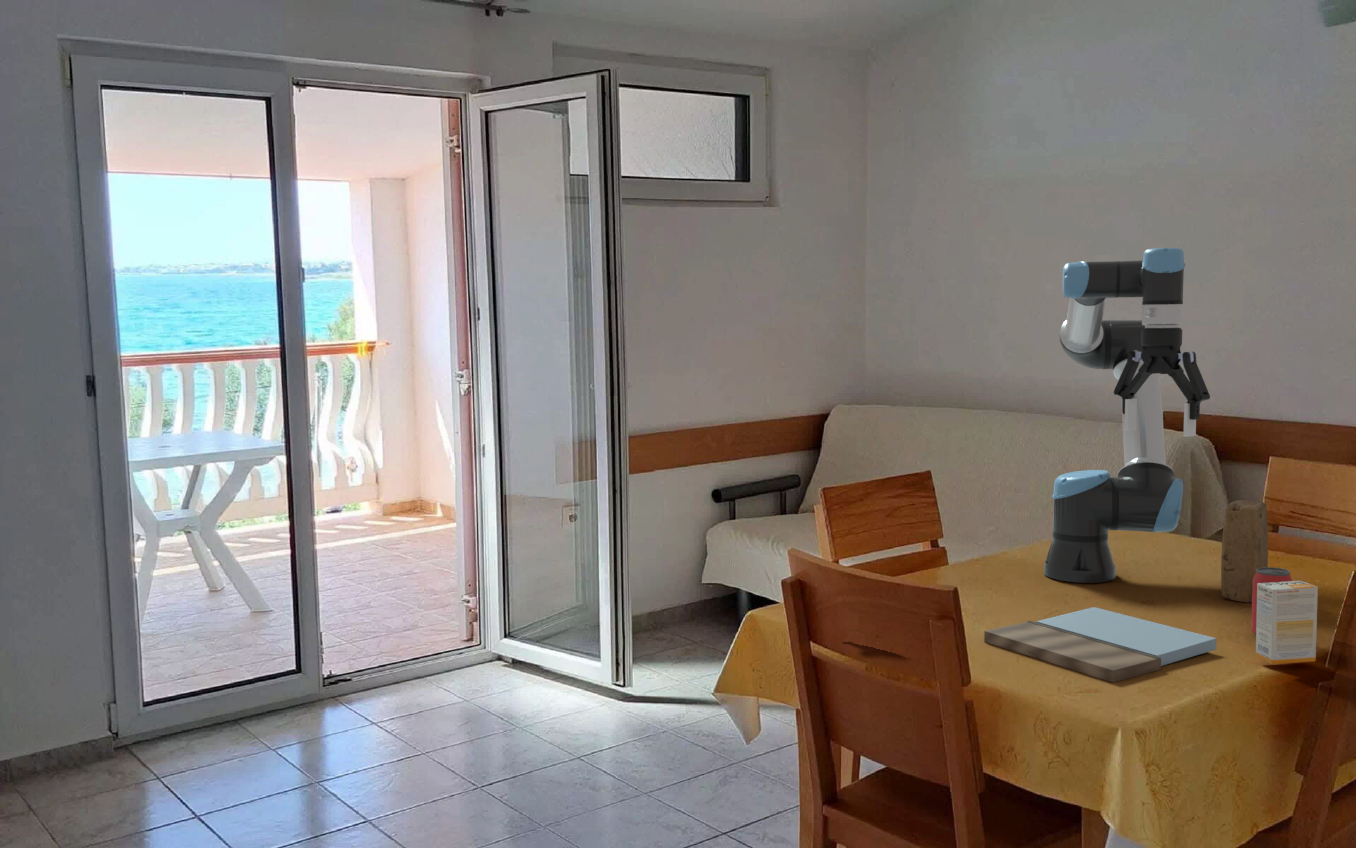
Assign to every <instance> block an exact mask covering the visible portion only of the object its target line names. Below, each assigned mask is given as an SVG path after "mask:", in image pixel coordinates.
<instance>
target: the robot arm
mask: <svg viewBox="0 0 1356 848" xmlns="http://www.w3.org/2000/svg"><path fill="white" fill-rule="evenodd" d="M1185 267H1186V264H1185V253H1184V249H1182V248H1180V247H1158V248H1157V247H1153V248H1148V249H1145V251H1144V252H1143V258H1142V260H1141V259H1140V260H1116V261H1105V260H1104V261H1085V260H1082V261H1076V262H1068V263H1065V264H1064V266H1063V269H1062V279H1061V280H1062V286H1061V287H1062V296H1063V297H1064V298H1066V299H1069V301H1068V308H1067V316H1066V319H1065V321H1063V323H1062V325H1061V328H1060V330H1059V342H1060V345H1061V347H1062V349H1063V351H1064V352H1065V354H1066V355H1067V356H1068V357H1069V358H1070V359H1072V360H1073V361H1074V362H1075V363H1077V364H1080V365H1082V366H1083V367H1087V368H1089V369H1095V370H1112V374H1113V377H1114V378H1115V379H1116V380H1117V383H1116V385H1115V387H1114V390H1113V394H1114V395H1115V396H1118V397H1121V400H1120V401H1121V415H1122V416H1121V418H1122V419H1121V420H1122V437H1123V439H1122V440H1123V442H1122V443H1123V457H1124V465H1123V466H1122V467H1121V468H1120V469H1119V470H1118V471H1117V477H1111V474H1110V472H1109V471H1108V470H1103V469H1089V470H1088V469H1087V470H1079V471H1078V470H1077V471H1071V472H1067V473H1063V474H1060V475H1058V476H1057V477H1056V478H1055V479H1054V483H1053V494H1052V495H1051V497H1052V500H1053V509H1052V511H1053V513H1052V516H1053V517H1052V542H1051V544H1050V546H1049V550H1048V552H1047V555H1046V560H1045V561H1044V563H1043V574H1044V576H1046V577H1048V578H1051V579H1052V580H1053V579H1054V580H1057V581H1064V582H1068V583H1083V584H1085V583H1086V584H1093V583H1095V584H1096V583H1104V582H1111V581H1113V580H1115V579H1116V575H1117V572H1116V571H1117V569H1116V565H1115V564H1114V560H1113V556H1112V552H1111V549H1110V546H1109V531H1122V532H1123V531H1124V532H1151V533H1153V534H1154V533H1157V532H1161V533H1162V532H1166V533H1167V532H1173V531H1174V530H1175V529H1176V528H1177V527H1178V524H1179V519H1180V515H1181V510H1182V504H1183V495H1184V494H1183V492H1184V484H1183V483H1184V481H1183V479H1181V478H1179V477H1175V472H1174V469H1173V468H1172V467H1171V466H1170V465H1168V464H1167V461H1166V449H1165V447H1166V446H1165V433H1164V419H1163V418H1164V416H1163V403H1162V400H1163V399H1162V390H1161V389H1162V388H1161V379H1163V378H1164V377H1165V375H1168V376H1169V377H1170V378H1171V379H1172V380H1173V381H1174V383H1175V384H1176V386H1177V388H1179V390H1180V392H1181V393H1182V394H1183V396H1184V397H1185V398H1186V400H1187V401H1186V402H1184V404H1183V406H1184V407H1183V436H1182V437H1185V438H1186V437H1187V438H1189V437H1196V436H1197V435H1196V434H1197V433H1196V432H1197V431H1196V430H1197V420H1199V419H1200V417H1201V416H1200V412H1201V410H1200V409H1201V403H1202V402H1204V401H1207V400H1210V398H1211V394H1210V393H1209V390H1208V388H1207V386H1206V382H1205V381H1204V378H1203V375H1202V373H1201V370H1200V368H1199V366H1198V364H1197V355H1196V352H1195V351H1184V352H1181V346H1182V345H1183V329H1182V328H1181V327H1180V326H1181V325H1184V297H1183V296H1184V277H1185V276H1184V275H1185V274H1184V273H1185ZM1111 298H1114V299H1115V298H1142V305H1141V320H1140V319H1137V320H1136V319H1134V320H1128V319H1127V320H1126V319H1125V320H1124V319H1123V320H1119V319H1118V320H1116V319H1114V320H1112V319H1111V320H1103V317H1104V312H1105V310H1106V308H1105V307H1106V303H1107V299H1111ZM1180 362H1181V363H1182V364H1183V368H1182V366H1181V364H1180ZM1184 370H1185V371H1184ZM1184 372H1185V373H1186V375H1185V373H1184Z"/></svg>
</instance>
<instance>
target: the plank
mask: <svg viewBox="0 0 1356 848" xmlns="http://www.w3.org/2000/svg"><path fill="white" fill-rule="evenodd" d="M1035 622H1036V623H1040V624H1043V625H1047V626H1050V627H1054V628H1057V629H1061V630H1064V631H1068V632H1071V633H1075V634H1078V635H1082V636H1085V637H1089V638H1092V639H1096V640H1100V641H1103V642H1107V643H1110V644H1114V645H1117V646H1121V647H1124V648H1128V649H1131V650H1135V651H1138V652H1142V653H1145V654H1149V655H1152V656H1156V657H1159V658H1161V667H1162V666H1165V665H1168V664H1172V663H1176V662H1178V661H1183V660H1185V659H1188V658H1192V657H1195V656H1199V655H1202V654H1206V653H1210V652H1212V651H1215V650H1217V638H1216V637H1213V636H1209V635H1205V634H1201V633H1197V632H1193V631H1190V630H1185V629H1181V628H1179V627H1178V628H1177V627H1174V626H1171V625H1167V624H1166V625H1165V624H1161V623H1158V622H1154V621H1150V620H1146V619H1143V618H1140V617H1139V618H1138V617H1135V616H1130V615H1126V614H1124V613H1119V612H1115V611H1111V610H1108V609H1103V608H1100V607H1095V606H1091V607H1088V608H1084V609H1080V610H1075V611H1073V612H1068V613H1064V614H1060V615H1056V616H1052V617H1048V618H1044V619H1040V620H1036V621H1035Z"/></svg>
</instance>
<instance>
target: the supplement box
mask: <svg viewBox="0 0 1356 848" xmlns="http://www.w3.org/2000/svg"><path fill="white" fill-rule="evenodd" d="M1318 589H1319V587H1318V586H1317V585H1314V584H1312V583H1308V582H1307V581H1306V582H1305V581H1303V580H1292V581H1288V582H1270V583H1257V622H1256V635H1255V636H1256V637H1255V639H1256V640H1255V657H1256V658H1258V659H1260V660H1262V661H1263V662H1266V663H1268V664H1270V665H1278V664H1279V665H1281V664H1292V663H1293V664H1294V663H1297V664H1298V663H1308V662H1311V663H1312V662H1316V661H1317V660H1316V659H1317V657H1316V656H1317V634H1318V632H1317V631H1318V630H1317V628H1318V627H1317V625H1318V597H1319V596H1318V593H1319V592H1318Z"/></svg>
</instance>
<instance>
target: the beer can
mask: <svg viewBox="0 0 1356 848" xmlns="http://www.w3.org/2000/svg"><path fill="white" fill-rule="evenodd" d="M1256 571H1257V572H1256V574H1255V576H1254V578H1253V590H1252V602H1251V623H1250V624H1251V626H1250V627H1251V629H1250V630H1251V633H1253V634H1254V635H1255V636H1256V622H1257V583H1270V582H1288V581H1293V579H1292V576H1291V571H1290V570H1288V569H1286V568H1280V567H1272V566H1271V567H1270V566H1269V567H1261V568H1258V569H1256Z"/></svg>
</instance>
